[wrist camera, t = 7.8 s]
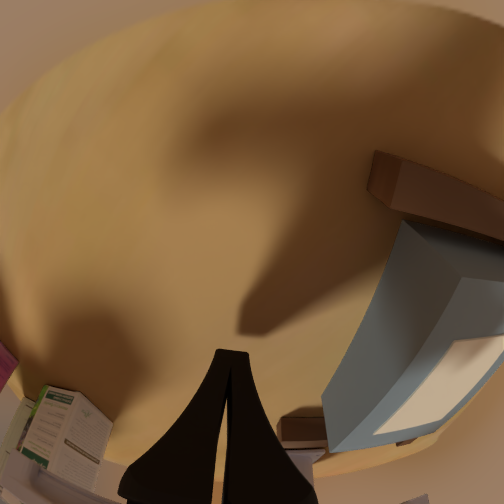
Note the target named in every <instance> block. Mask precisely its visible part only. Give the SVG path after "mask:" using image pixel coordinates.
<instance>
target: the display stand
mask: <svg viewBox="0 0 504 504" xmlns="http://www.w3.org/2000/svg"><path fill="white" fill-rule="evenodd" d="M367 190H368V191H369V192H370V193H371V194H373V195H374V196H375V197H376V198H378V199H379V200H380V201H381V202H382V203H384V204H385V205H386V206H387V207H389V208H390V209H394V210H398V211H402V212H407V213H411V214H415V215H419V216H422V217H426V218H430V219H434V220H437V221H441V222H445V223H448V224H452V225H455V226H458V227H462V228H465V229H468V230H472V231H475V232H478V233H481V234H484V235H487V236H490V237H493V238H496V239H499V240H502V241H504V201H503V200H501V199H499V198H497V197H495V196H493V195H491V194H489V193H487V192H485V191H483V190H481V189H479V188H477V187H474V186H472V185H470V184H468V183H466V182H463V181H461V180H459V179H456V178H454V177H452V176H449V175H447V174H444V173H442V172H439V171H437V170H434V169H431V168H429V167H426V166H423V165H420V164H418V163H415V162H412V161H409V160H406V159H403V158H400V157H397V156H394V155H390V154H387V153H384V152H380V151H377V150H376V151H375V156H374V160H373V165H372V169H371V174H370V178H369V182H368V186H367ZM277 438H278V440H279V442H280V443H281V445H282V446H283V448H313V447H328V438H327V431H326V424H325V418H324V417H323V418H280V420H279V422H278V424H277ZM417 438H418V437H417ZM417 438H413V439H409V440H405V441H401V442H396V446H397V447H398V446H402V445H406V444H410V443H412V442H413V441H414V440H415V439H417Z"/></svg>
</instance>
